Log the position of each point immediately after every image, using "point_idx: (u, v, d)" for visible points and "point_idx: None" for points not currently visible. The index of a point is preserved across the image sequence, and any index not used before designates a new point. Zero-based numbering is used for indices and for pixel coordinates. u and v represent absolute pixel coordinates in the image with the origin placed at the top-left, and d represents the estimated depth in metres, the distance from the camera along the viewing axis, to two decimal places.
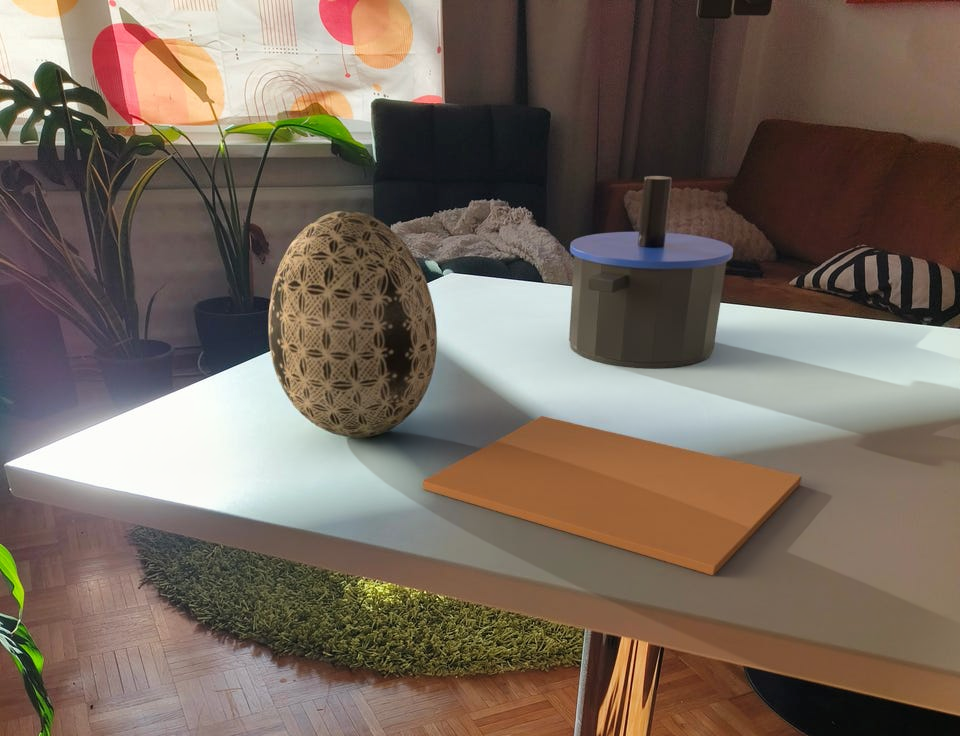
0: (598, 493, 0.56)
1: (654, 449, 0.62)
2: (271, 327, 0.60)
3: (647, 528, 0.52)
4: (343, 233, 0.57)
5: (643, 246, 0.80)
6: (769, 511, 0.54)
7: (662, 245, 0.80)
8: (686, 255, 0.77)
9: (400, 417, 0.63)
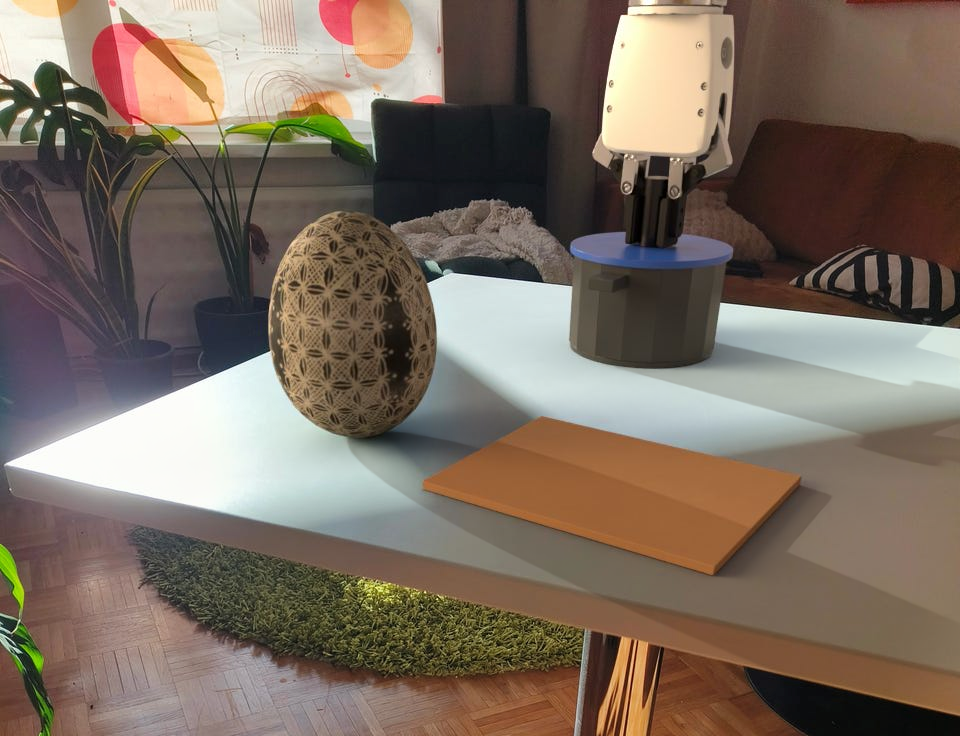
0: (598, 493, 0.56)
1: (654, 449, 0.62)
2: (271, 327, 0.60)
3: (647, 528, 0.52)
4: (343, 233, 0.57)
5: (643, 246, 0.80)
6: (769, 511, 0.54)
7: None
8: (686, 255, 0.77)
9: (400, 417, 0.63)
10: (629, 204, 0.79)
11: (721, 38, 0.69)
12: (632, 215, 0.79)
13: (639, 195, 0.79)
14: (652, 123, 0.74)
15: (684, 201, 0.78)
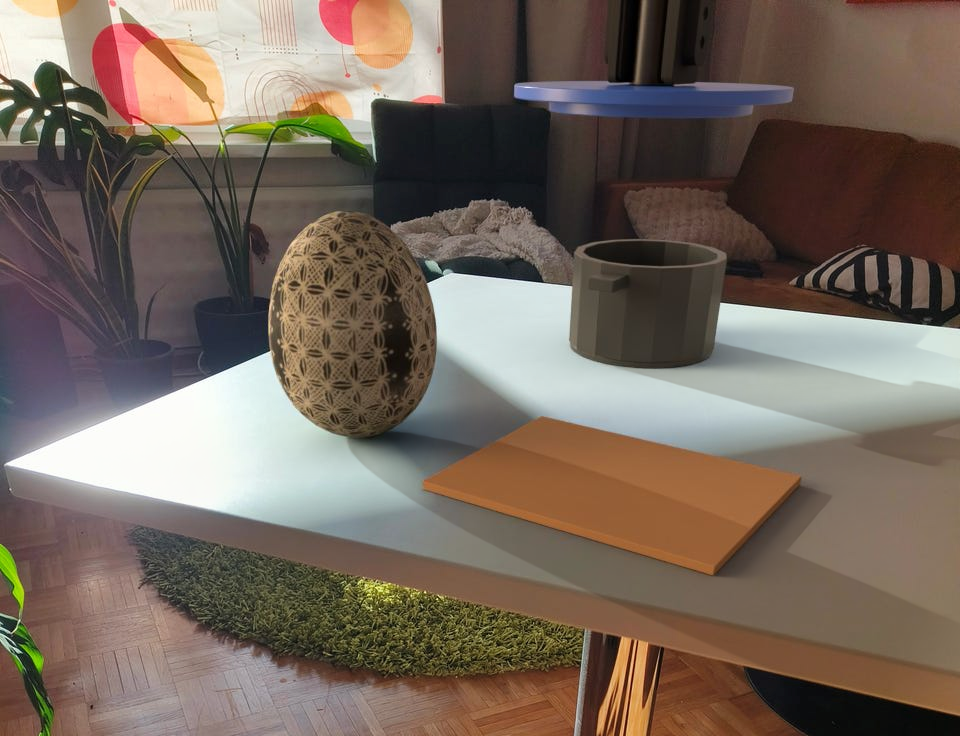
0: (598, 493, 0.56)
1: (654, 449, 0.62)
2: (271, 327, 0.60)
3: (647, 528, 0.52)
4: (343, 233, 0.57)
5: (638, 84, 0.47)
6: (769, 511, 0.54)
7: None
8: None
9: (400, 417, 0.63)
10: (614, 6, 0.45)
11: None
12: (619, 27, 0.45)
13: None
14: None
15: None
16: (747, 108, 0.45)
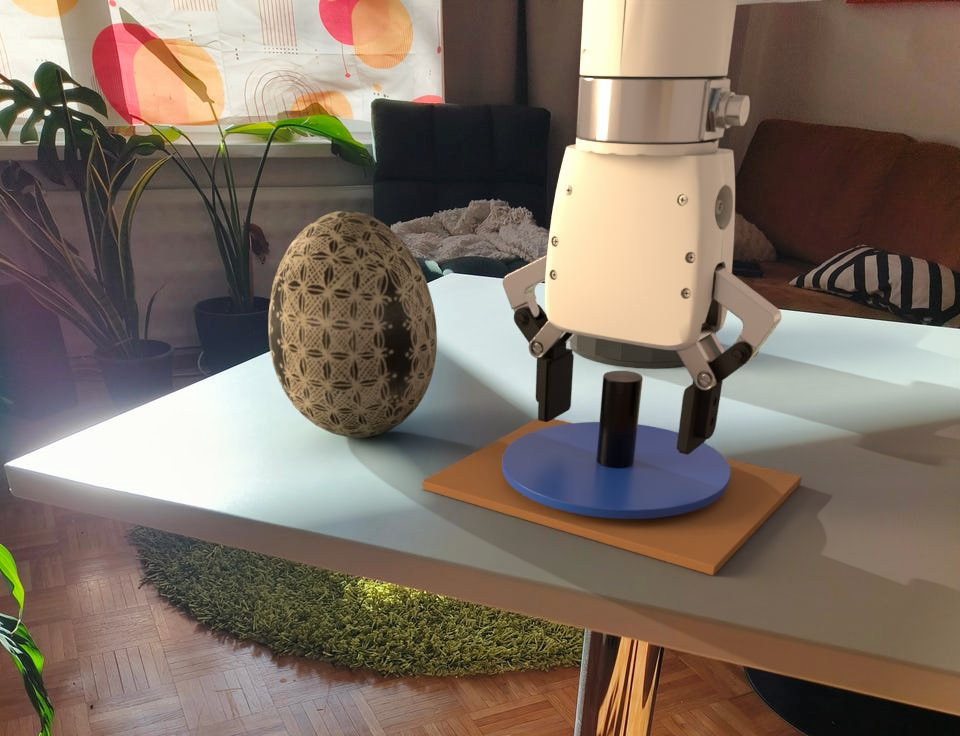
0: None
1: None
2: (271, 327, 0.60)
3: (647, 528, 0.52)
4: (343, 233, 0.57)
5: (603, 465, 0.57)
6: (769, 511, 0.54)
7: (630, 463, 0.57)
8: (663, 490, 0.54)
9: (400, 417, 0.63)
10: (541, 371, 0.56)
11: (715, 189, 0.46)
12: (546, 386, 0.56)
13: (555, 358, 0.56)
14: (615, 301, 0.50)
15: (718, 389, 0.52)
16: None
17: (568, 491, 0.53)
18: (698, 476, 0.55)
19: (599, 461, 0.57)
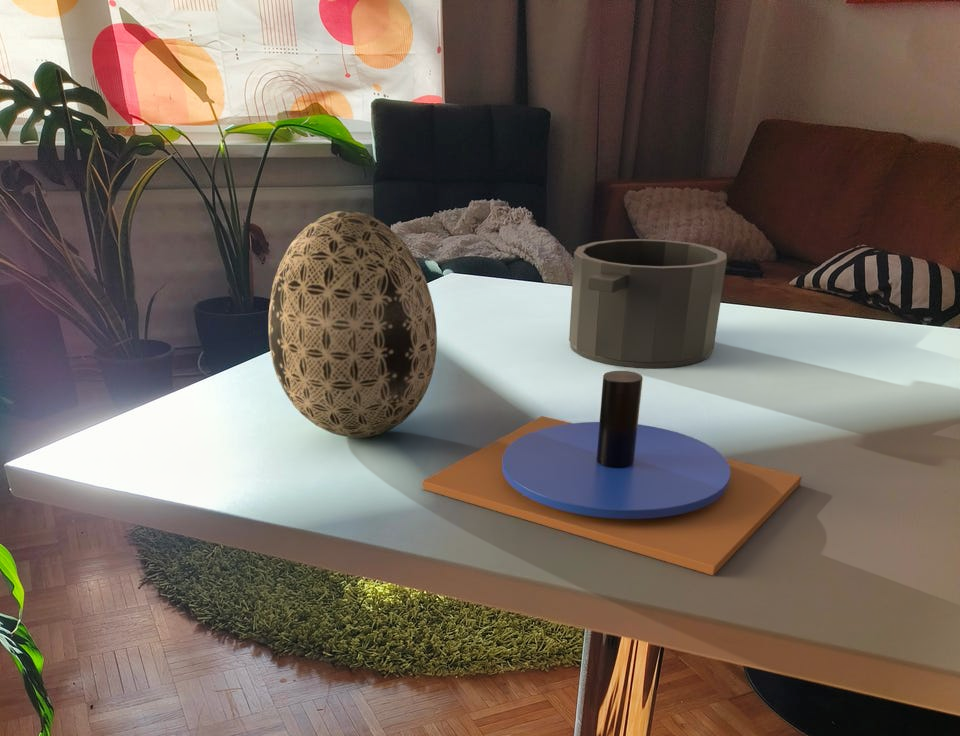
0: None
1: None
2: (271, 327, 0.60)
3: (647, 528, 0.52)
4: (343, 233, 0.57)
5: (603, 465, 0.57)
6: (769, 511, 0.54)
7: (630, 463, 0.57)
8: (663, 490, 0.54)
9: (400, 417, 0.63)
10: None
11: None
12: None
13: None
14: None
15: None
16: None
17: (568, 491, 0.53)
18: (698, 476, 0.55)
19: (599, 461, 0.57)
